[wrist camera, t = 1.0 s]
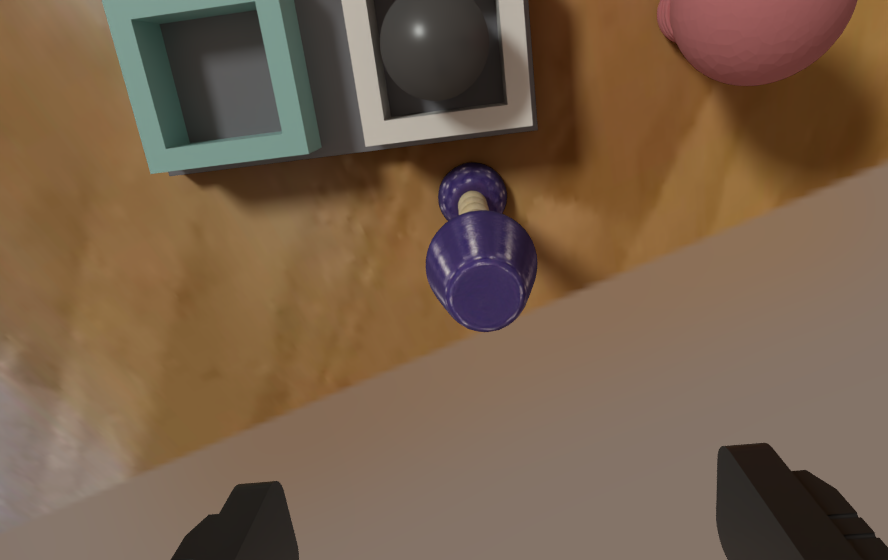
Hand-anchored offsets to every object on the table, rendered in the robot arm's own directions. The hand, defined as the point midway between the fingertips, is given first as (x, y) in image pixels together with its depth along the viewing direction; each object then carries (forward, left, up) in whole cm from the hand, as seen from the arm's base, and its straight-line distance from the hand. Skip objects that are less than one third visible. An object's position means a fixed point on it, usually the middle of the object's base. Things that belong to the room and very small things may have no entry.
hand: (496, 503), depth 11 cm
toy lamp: (0, 0, -28) cm, 28 cm away
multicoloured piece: (+7, -9, -28) cm, 30 cm away
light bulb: (-13, -9, -28) cm, 32 cm away
